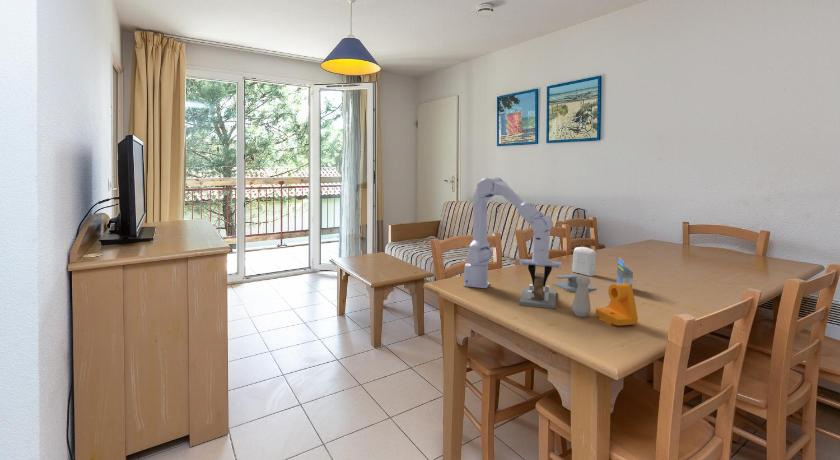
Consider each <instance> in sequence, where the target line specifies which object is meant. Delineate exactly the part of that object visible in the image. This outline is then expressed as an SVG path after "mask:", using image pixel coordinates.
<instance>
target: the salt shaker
mask: <svg viewBox="0 0 840 460" xmlns="http://www.w3.org/2000/svg"><path fill="white" fill-rule="evenodd" d="M576 283H577V284H578V286H577V290H576V292H574V293H575V294H574V298H573V302H572V305H571V311H572V312H573V315H574V316H576V317H577V318H587V317H589V315H590V313H591V303H590V302H591V301H590V299H591V298H590V290H588V285H590V284H591V278H590V276H587V275H579V276H578V277H577V278H576Z"/></svg>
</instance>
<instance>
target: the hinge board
mask: <svg viewBox="0 0 840 460" xmlns="http://www.w3.org/2000/svg"><path fill="white" fill-rule="evenodd" d="M556 294H557V293H556V289H555V288H554V289H552V288H550V285H546V284H545V287H543V297H542V301H541V300H533V298H534V286H533V283H529V286H523V288H522V291H521V295H520V299H519V306H525V307H526V306H527V307H534V308H536V307H537V308H546V309H556V297H557V296H556Z"/></svg>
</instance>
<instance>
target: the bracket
mask: <svg viewBox="0 0 840 460" xmlns="http://www.w3.org/2000/svg"><path fill="white" fill-rule="evenodd" d="M608 296H609V298H610V301H609V303H608V306H607V307H597V308H595V315H596V316H598V318H599V320H601V321H603V322H605V323H606V324H608V325H610V326H629V325H638V322H639V319H638V318H639V317H638V312H637V306H636V301H635V300H636V299H635V295H634V290H633V286H632V287H631V286H630V285H629V284H627V283H625V284H617V283H612V284H611V285H609V287H608Z"/></svg>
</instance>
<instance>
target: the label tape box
mask: <svg viewBox="0 0 840 460" xmlns="http://www.w3.org/2000/svg"><path fill="white" fill-rule="evenodd" d="M616 273H617V274H616V275H617V276H616V284H625V283H627V284H629V285H630V286H631V287H632V288H633V281H634V280H633V278H634V277H633V276H634V272H633V271H632V270H631V269H629V268H628V267H627V266H625V261H624V260H622V258H621V257H618V260H617V271H616Z"/></svg>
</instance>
